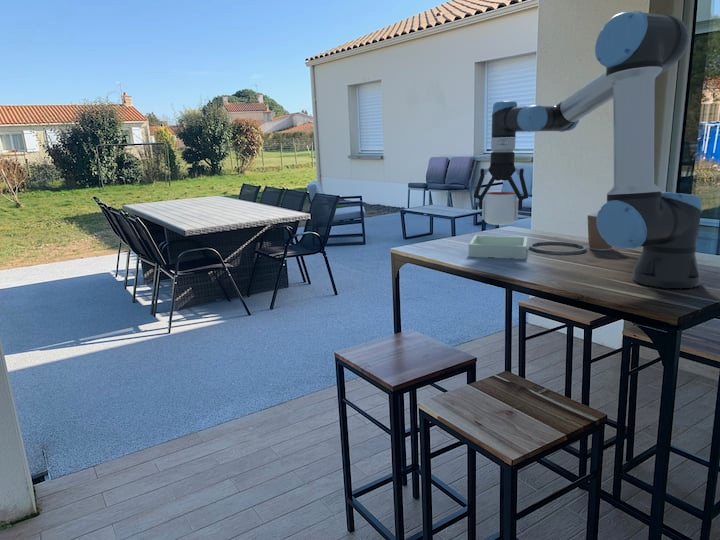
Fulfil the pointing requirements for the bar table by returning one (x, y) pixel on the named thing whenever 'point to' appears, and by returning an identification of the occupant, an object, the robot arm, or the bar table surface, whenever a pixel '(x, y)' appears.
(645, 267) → the robot arm
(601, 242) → the coffee cup
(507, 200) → the cup
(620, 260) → the bar table surface
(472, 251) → the bin
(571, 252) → the socket ring
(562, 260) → the bar table surface
